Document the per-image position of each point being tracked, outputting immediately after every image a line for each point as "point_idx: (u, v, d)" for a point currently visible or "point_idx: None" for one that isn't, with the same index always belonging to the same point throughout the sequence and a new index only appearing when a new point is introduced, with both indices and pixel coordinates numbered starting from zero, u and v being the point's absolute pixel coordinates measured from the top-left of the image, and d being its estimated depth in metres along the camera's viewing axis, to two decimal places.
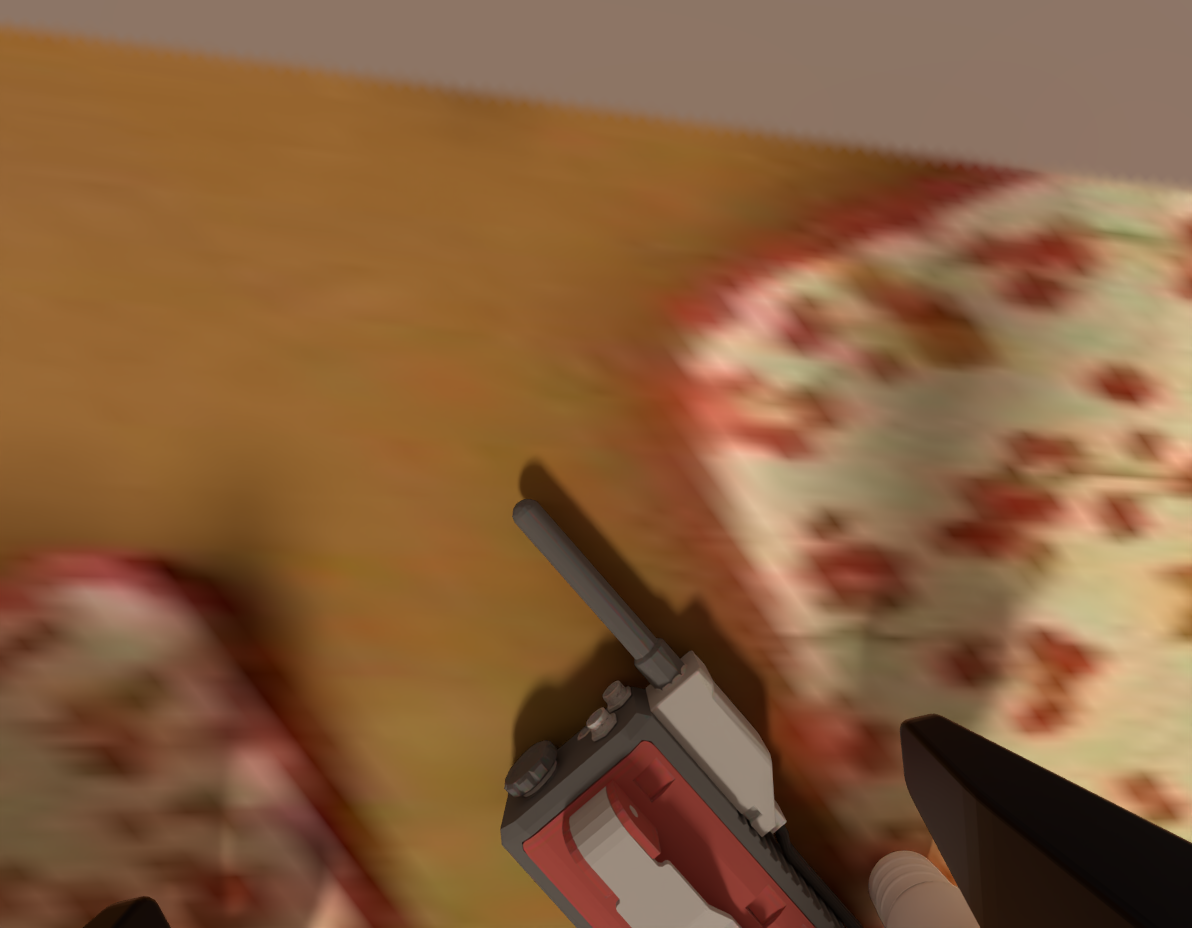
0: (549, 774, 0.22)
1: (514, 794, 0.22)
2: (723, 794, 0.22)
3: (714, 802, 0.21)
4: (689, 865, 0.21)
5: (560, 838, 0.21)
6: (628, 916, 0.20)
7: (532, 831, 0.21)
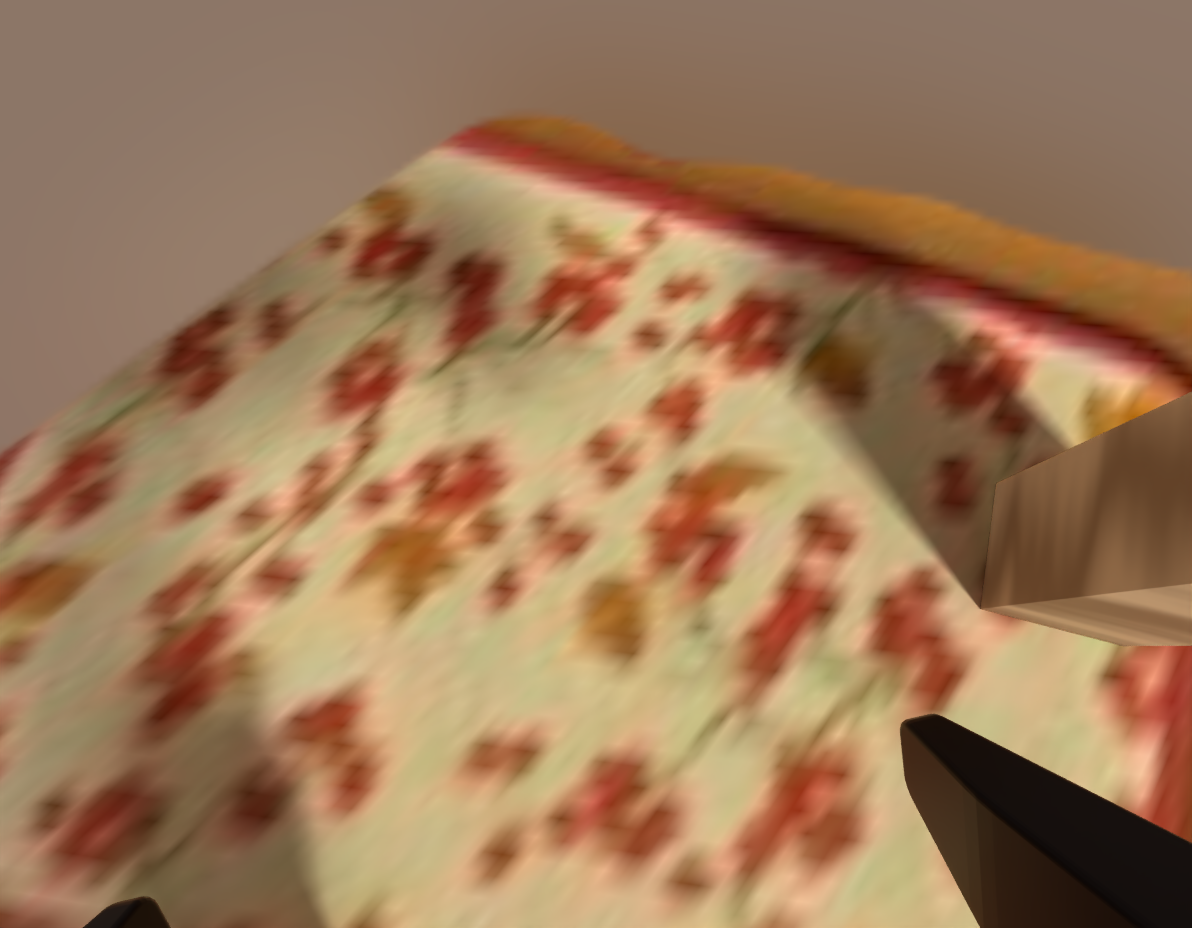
0: None
1: None
2: None
3: None
4: None
5: None
6: None
7: None
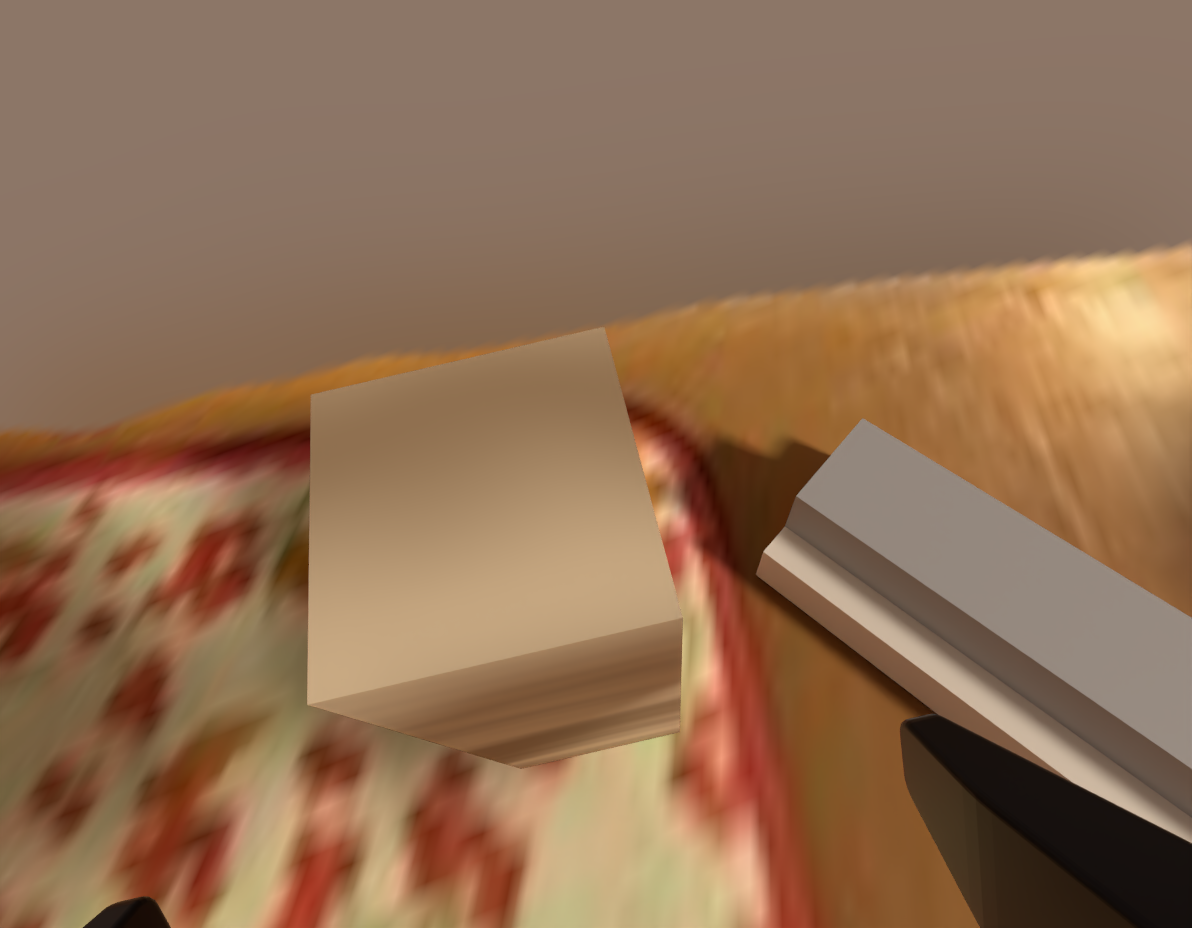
0: None
1: None
2: None
3: None
4: None
5: None
6: None
7: None
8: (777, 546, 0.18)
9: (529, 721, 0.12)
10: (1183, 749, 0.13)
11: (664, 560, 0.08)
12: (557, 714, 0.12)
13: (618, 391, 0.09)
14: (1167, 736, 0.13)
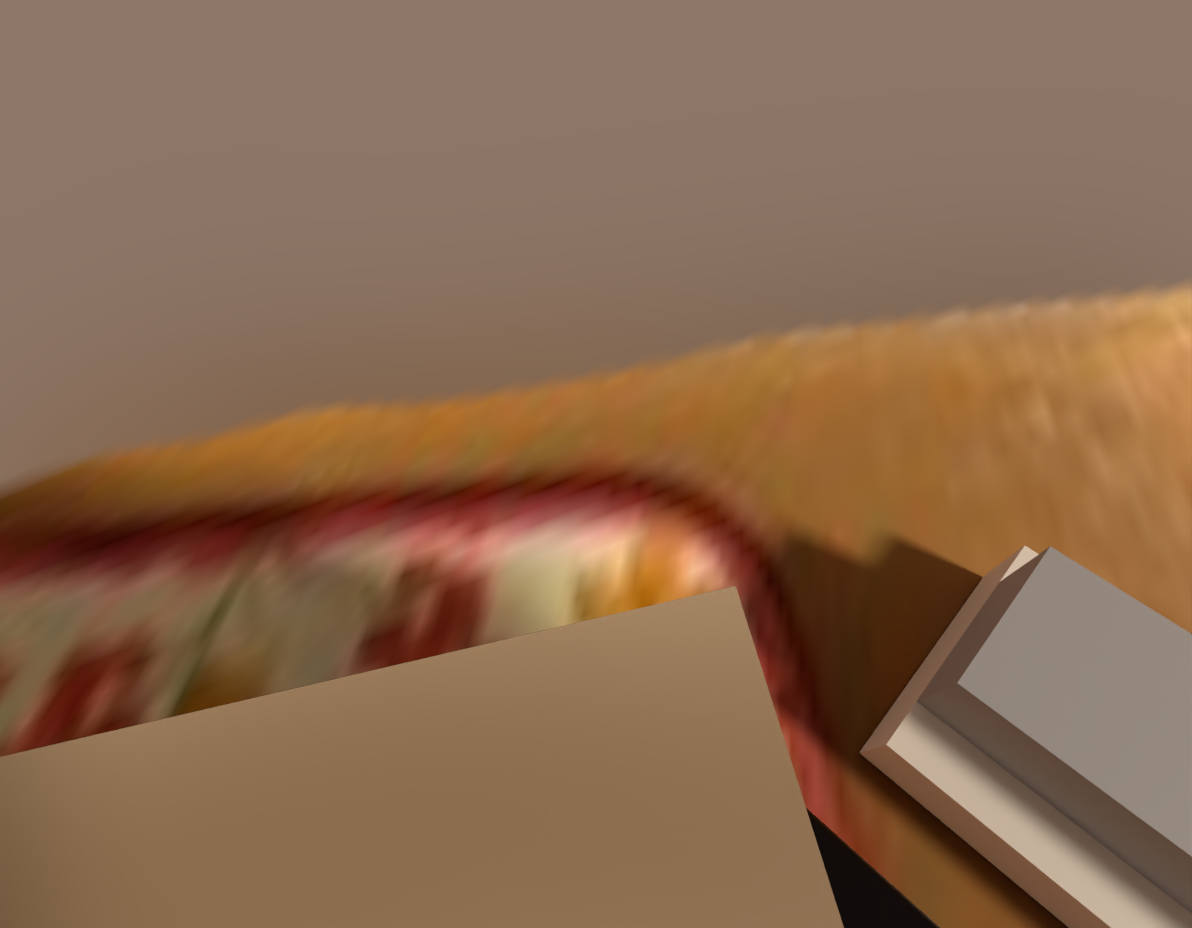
0: None
1: None
2: None
3: None
4: None
5: None
6: None
7: None
8: (907, 735, 0.12)
9: None
10: None
11: None
12: None
13: (807, 847, 0.03)
14: None
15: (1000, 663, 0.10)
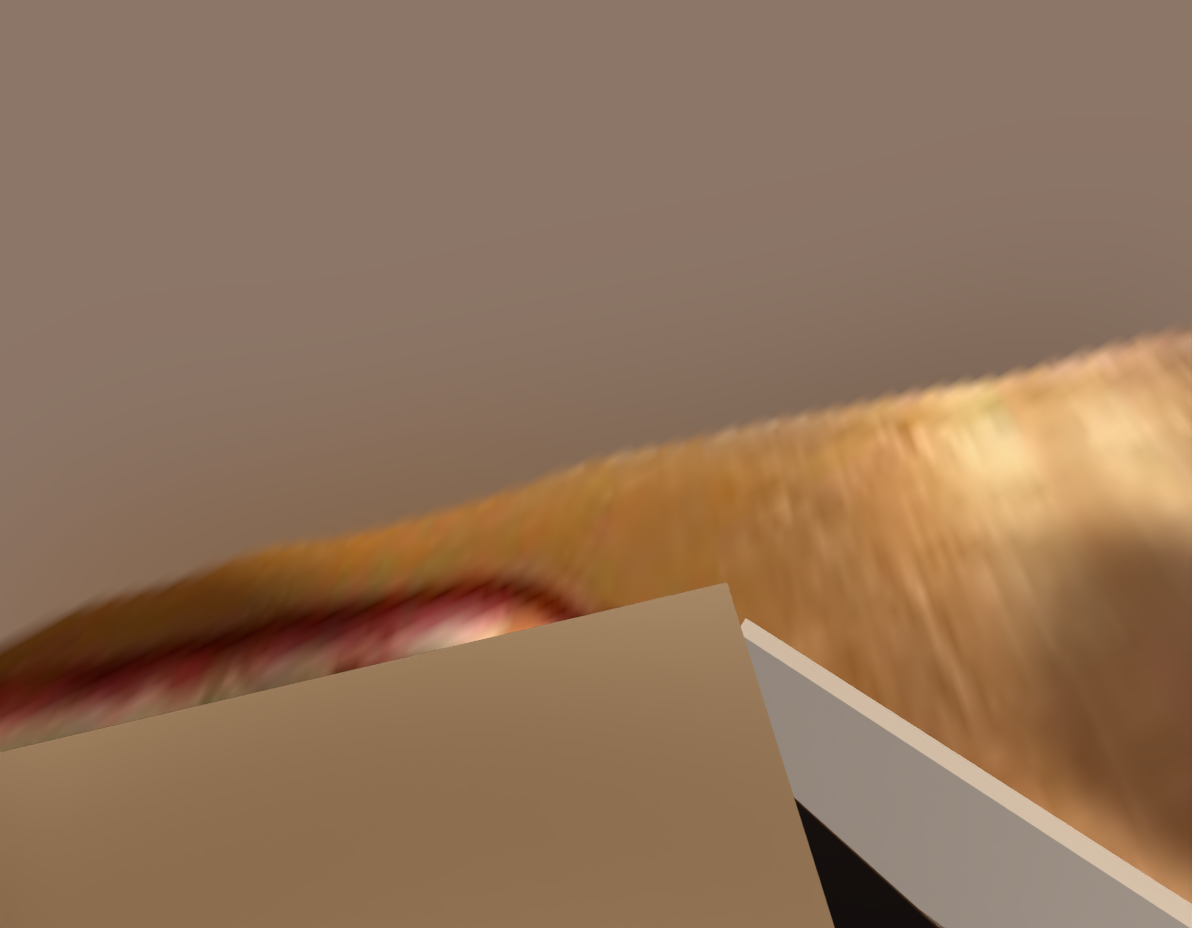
0: None
1: None
2: None
3: None
4: None
5: None
6: None
7: None
8: None
9: None
10: None
11: None
12: None
13: (797, 841, 0.03)
14: None
15: None
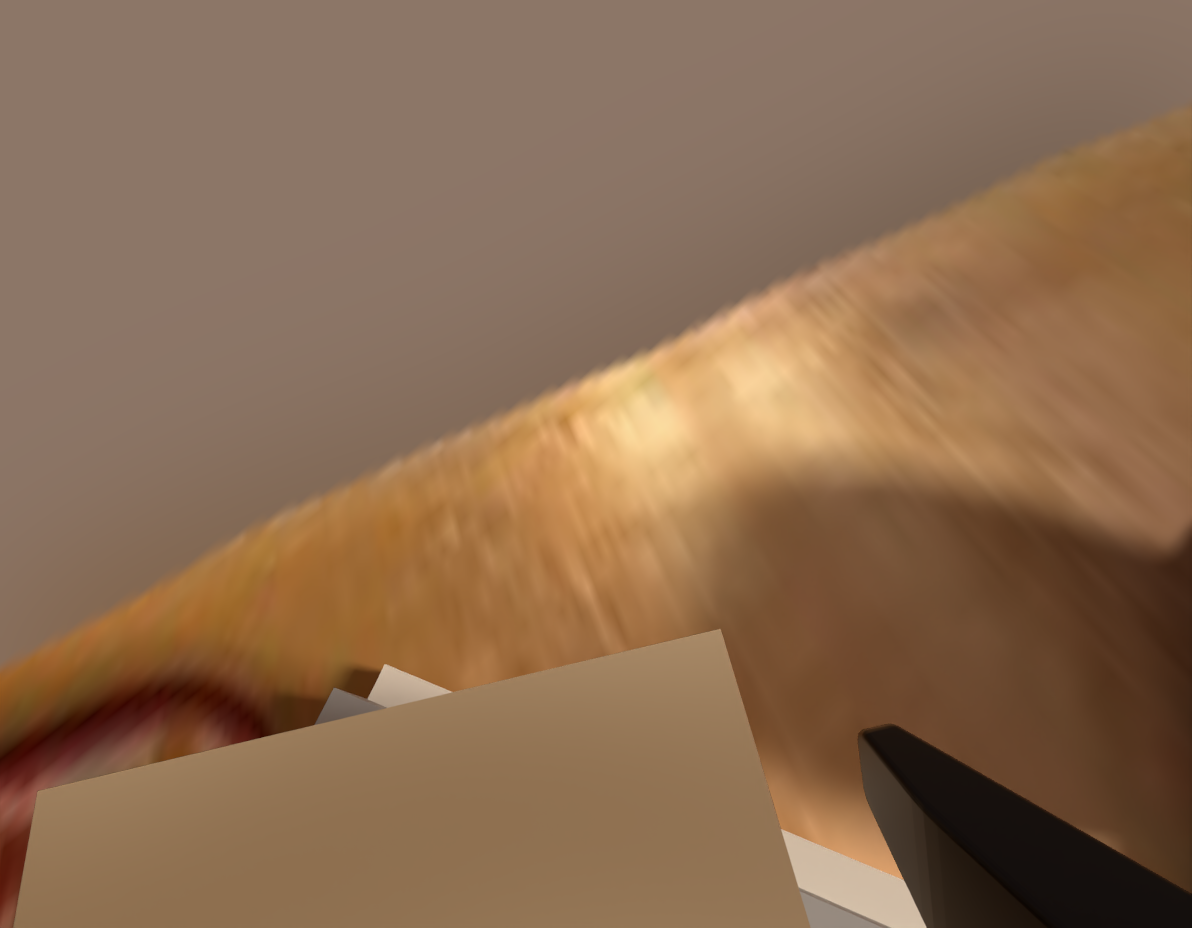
0: None
1: None
2: None
3: None
4: None
5: None
6: None
7: None
8: None
9: None
10: None
11: None
12: None
13: (774, 836, 0.04)
14: None
15: None
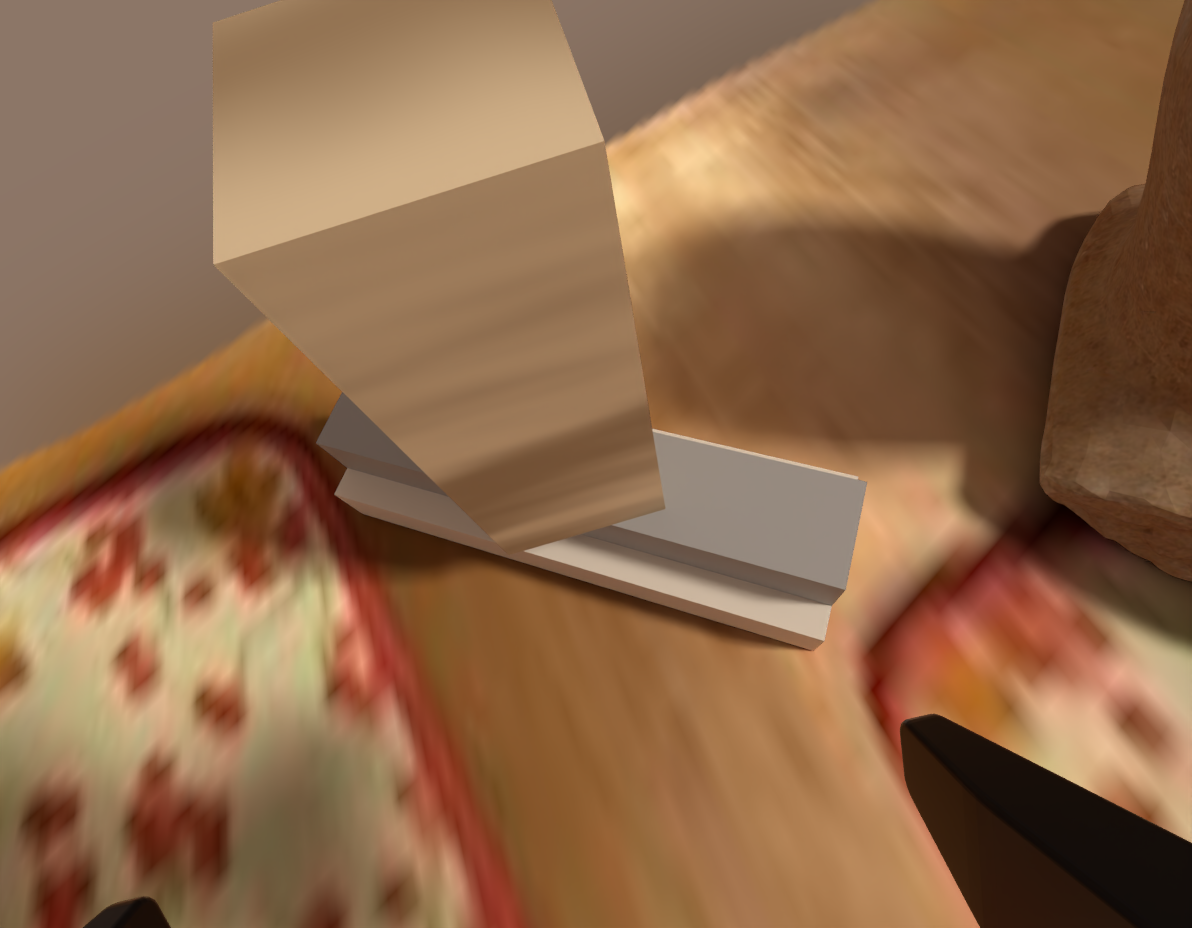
0: None
1: None
2: None
3: None
4: None
5: None
6: None
7: None
8: (344, 485, 0.22)
9: (488, 415, 0.11)
10: None
11: (584, 96, 0.07)
12: (516, 403, 0.11)
13: None
14: None
15: (334, 425, 0.21)
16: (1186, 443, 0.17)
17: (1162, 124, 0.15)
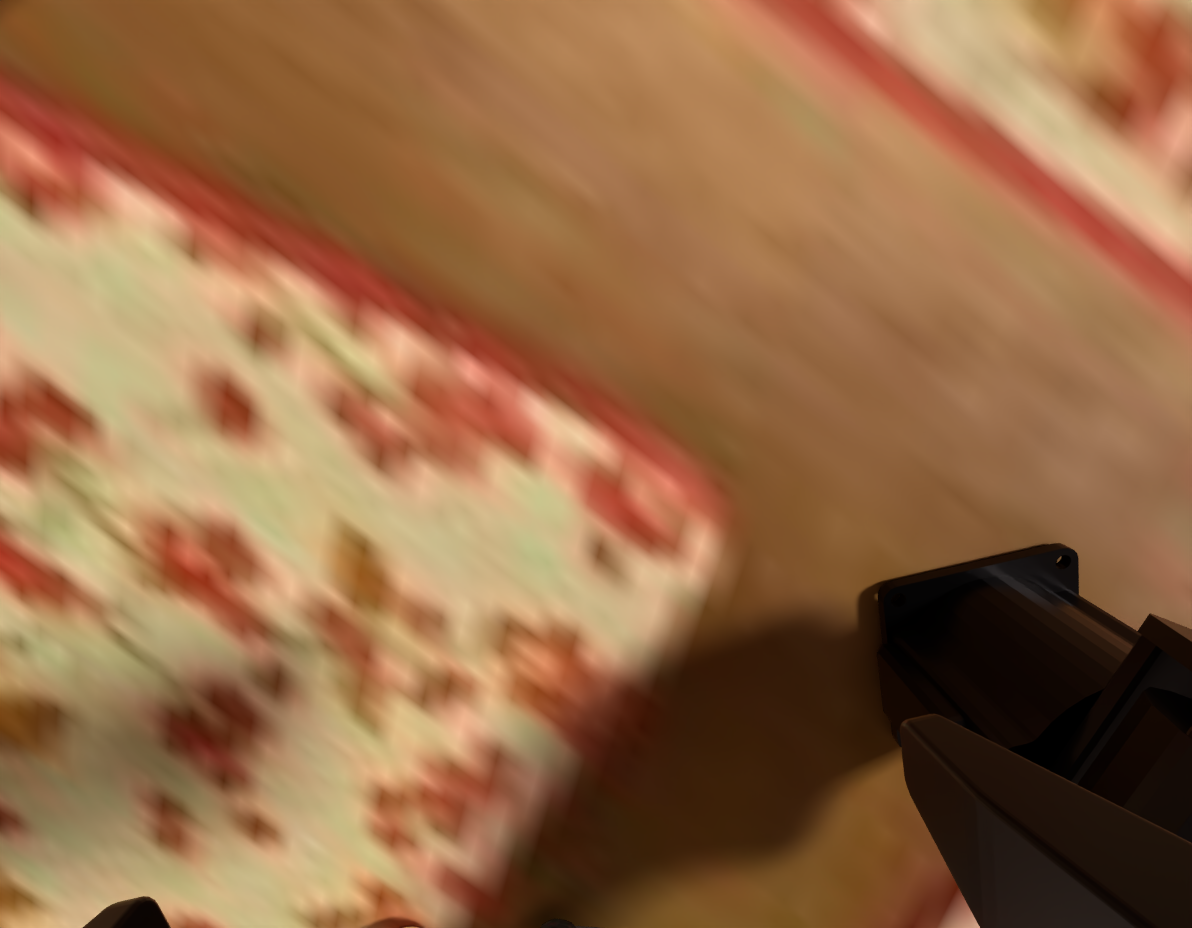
0: None
1: None
2: None
3: None
4: None
5: None
6: None
7: None
8: None
9: None
10: None
11: None
12: None
13: None
14: None
15: None
16: None
17: None
